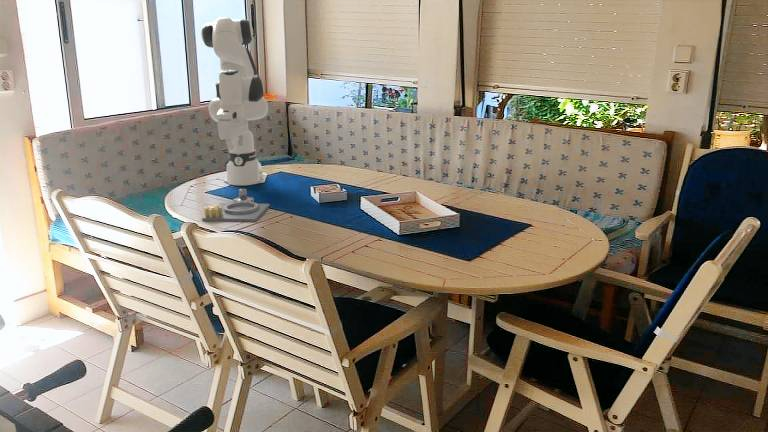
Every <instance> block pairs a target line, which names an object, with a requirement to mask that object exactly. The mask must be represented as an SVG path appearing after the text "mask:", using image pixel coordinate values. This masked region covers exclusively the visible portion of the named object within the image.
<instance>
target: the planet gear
mask: <svg viewBox="0 0 768 432" xmlns="http://www.w3.org/2000/svg"><path fill="white" fill-rule="evenodd" d="M247 193H248V192H247V188H239V189H238V196H237V197H236V198H233V199H232V203H234V202H254V203H255V199H254V197H252V196H251V197H250V196H248V194H247Z"/></svg>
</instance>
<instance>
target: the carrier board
mask: <svg viewBox="0 0 768 432" xmlns="http://www.w3.org/2000/svg"><path fill="white" fill-rule="evenodd" d="M270 206H271V205H270V203H257V202H255V201H254V202H234V203H233V202H220V203H218V204H213V205H210V204H209V205H207V206H204V207H203V211H204V216H203V217H202V218H201V221H203V222H204V221H205V222H208V221H209V222H251V223H255V222H256V221H258V219H259V218H260V217H262V215H263V214H264V213H265V212H266V211H267V210H268V209H269V208H270Z"/></svg>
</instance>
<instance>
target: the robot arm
mask: <svg viewBox="0 0 768 432" xmlns="http://www.w3.org/2000/svg"><path fill="white" fill-rule="evenodd" d="M200 34H201V35H200V36H201V40H202V42H203V43H204V45H205V46H206V47H207V48H212V49H213V52H214V53H215V55H216V56H217V57H218V58H219V65H220V72H219V74H218V75H219V77H218V80H216V81H217V82H215V89H216V97H215V98H212V99H211V100H210V101H209V104H208V107H207V108H208V109H207V110H208V114H209V116H210V118H211V119H212V120H213V121H215V123H216V122H217V132H218V137H219V139H220V140H221V141H222V140H223V141H225V144H226V146H227V150H228V151H229V152H228V160H229V161H228V163H227V164H226V178H225V179H223V182H224V183H226V184H229V185H230V186H231V185H232V186H252V185H257V184H262V183H265V182H266V179H267V176H268V174H267V172H263V170H262V164H261V162H260V161H259V160H258V159H257V149H255V139H254V134H253V132H252V131H250V130H249V122H248V121H256V120H260V119H261V120H262V119H263V118H266V116H267V115H268V112H269V104H268V102H267V101H268V100H266V98H265V97H264V96H265V95H264V94H265V87H264V83H263V81H262V79H261V76H260V75H259V72H258V70H257V67H256V63H255V61H254V59H253V55H252V54H251V51H250V50H249V48H248V47H247V46H248V45H249V44H251V43H252V41H253V36H254V28H253V26H252V24H251V23H250V21H249V20H248V19H246V18H243V19H242V18H239V19H231V18H230V17H226V16H223V17H222V16H221V17H218V18H217V19H216V20H215V21H214V22H207V23H205V24H203V26H202V27H201V33H200Z"/></svg>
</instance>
